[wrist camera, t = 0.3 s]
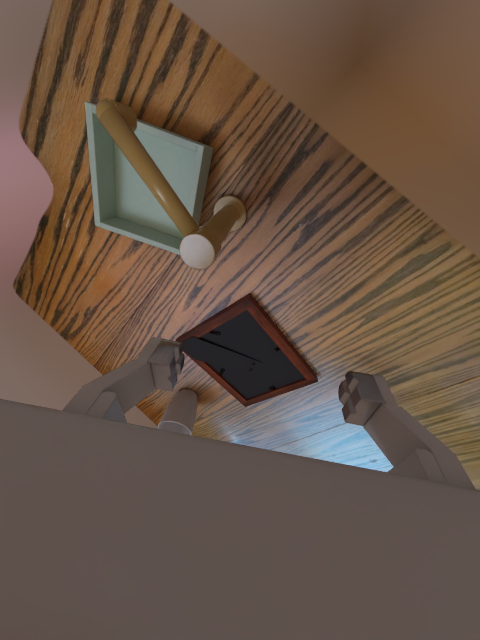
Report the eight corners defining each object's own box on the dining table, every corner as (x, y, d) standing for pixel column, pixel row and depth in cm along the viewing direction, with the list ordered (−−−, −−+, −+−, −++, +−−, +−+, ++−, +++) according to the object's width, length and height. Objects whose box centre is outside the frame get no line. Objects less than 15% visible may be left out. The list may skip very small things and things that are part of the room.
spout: (230, 244, 23) (222, 259, 20) (205, 260, 24) (194, 275, 21) (131, 91, 17) (97, 75, 14) (106, 121, 19) (69, 114, 15)
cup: (168, 394, 63) (152, 429, 55) (182, 381, 58) (167, 416, 50) (193, 407, 65) (181, 443, 57) (208, 395, 60) (197, 432, 52)
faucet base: (208, 203, 33) (173, 227, 22) (238, 189, 32) (216, 206, 20) (222, 235, 36) (197, 271, 24) (251, 223, 34) (237, 256, 23)
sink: (113, 218, 36) (95, 225, 33) (109, 108, 28) (84, 100, 25) (195, 247, 37) (185, 257, 34) (213, 147, 29) (204, 146, 26)
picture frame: (177, 338, 50) (245, 400, 60) (173, 344, 48) (245, 407, 58) (249, 293, 41) (316, 375, 51) (248, 298, 39) (318, 382, 49)
